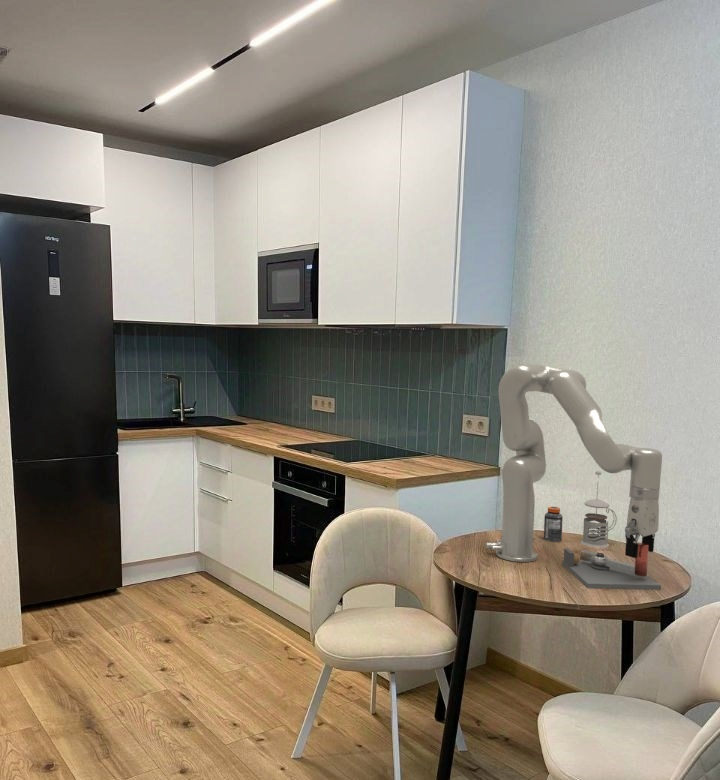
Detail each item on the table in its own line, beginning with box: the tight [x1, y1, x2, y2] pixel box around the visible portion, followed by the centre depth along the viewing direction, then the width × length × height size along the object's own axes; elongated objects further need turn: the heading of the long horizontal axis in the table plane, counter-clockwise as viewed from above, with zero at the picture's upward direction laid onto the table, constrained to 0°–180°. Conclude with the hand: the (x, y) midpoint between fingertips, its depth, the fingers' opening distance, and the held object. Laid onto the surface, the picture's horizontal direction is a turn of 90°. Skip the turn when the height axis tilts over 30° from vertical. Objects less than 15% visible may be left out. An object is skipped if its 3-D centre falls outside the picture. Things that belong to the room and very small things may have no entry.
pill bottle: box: [543, 506, 563, 543], centre depth 219 cm, size 6×6×11 cm
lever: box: [579, 542, 649, 576], centre depth 183 cm, size 4×19×9 cm, turn 41°
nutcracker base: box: [562, 547, 662, 590], centre depth 182 cm, size 20×20×5 cm
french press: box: [579, 470, 618, 548], centre depth 215 cm, size 10×12×25 cm
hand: (639, 553), depth 177 cm, fingers open, 9 cm apart
